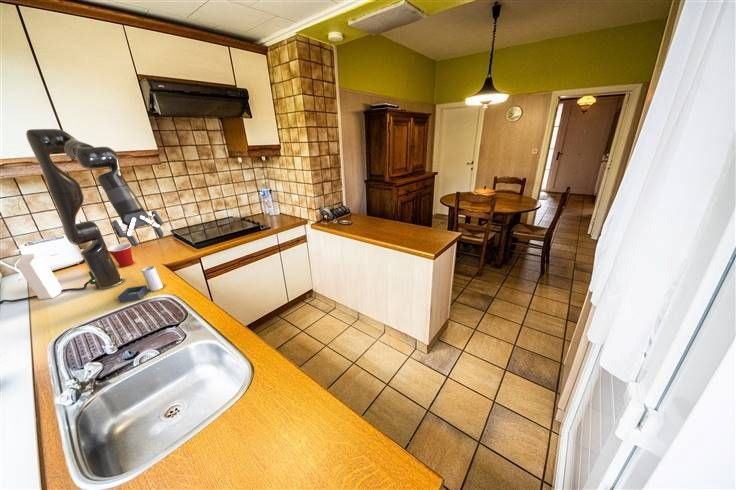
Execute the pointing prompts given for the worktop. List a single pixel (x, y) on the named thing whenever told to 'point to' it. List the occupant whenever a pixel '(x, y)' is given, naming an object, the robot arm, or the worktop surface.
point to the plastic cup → (122, 254)
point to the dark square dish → (133, 293)
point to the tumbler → (152, 278)
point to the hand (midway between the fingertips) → (149, 241)
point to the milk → (39, 276)
